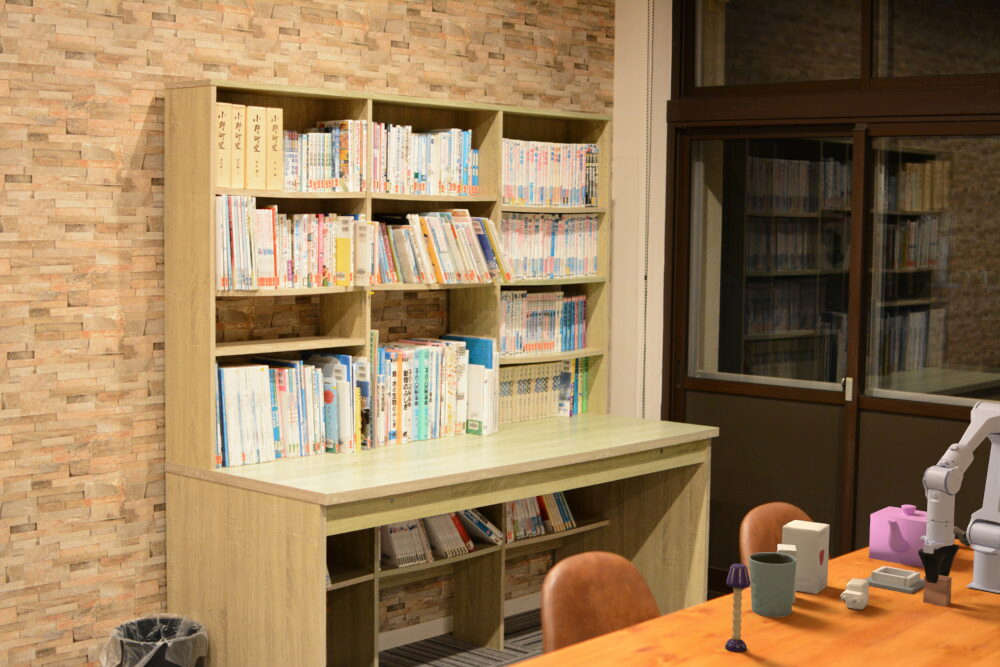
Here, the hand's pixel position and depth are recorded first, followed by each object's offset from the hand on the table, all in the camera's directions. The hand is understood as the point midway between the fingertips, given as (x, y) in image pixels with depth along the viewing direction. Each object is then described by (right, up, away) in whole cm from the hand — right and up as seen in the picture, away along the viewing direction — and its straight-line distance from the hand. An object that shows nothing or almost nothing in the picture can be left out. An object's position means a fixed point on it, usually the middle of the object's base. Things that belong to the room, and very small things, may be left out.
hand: (937, 579), depth 267 cm
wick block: (0, -6, 0) cm, 6 cm away
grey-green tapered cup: (-40, -6, -9) cm, 41 cm away
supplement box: (-27, -5, +11) cm, 30 cm away
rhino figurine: (+23, -3, +53) cm, 58 cm away
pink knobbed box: (+6, -3, +39) cm, 40 cm away
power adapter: (-21, -6, -6) cm, 22 cm away
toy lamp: (-52, -7, -33) cm, 62 cm away
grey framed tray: (-4, -4, +15) cm, 17 cm away
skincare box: (-34, -5, +1) cm, 35 cm away
